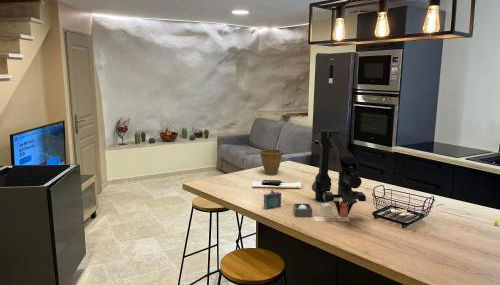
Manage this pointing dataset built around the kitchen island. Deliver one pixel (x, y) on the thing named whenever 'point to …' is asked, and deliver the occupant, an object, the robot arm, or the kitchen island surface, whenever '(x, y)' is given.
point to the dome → (302, 207)
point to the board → (331, 219)
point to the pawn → (343, 209)
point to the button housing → (302, 210)
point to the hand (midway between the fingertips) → (343, 214)
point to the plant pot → (271, 160)
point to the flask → (272, 200)
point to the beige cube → (326, 208)
